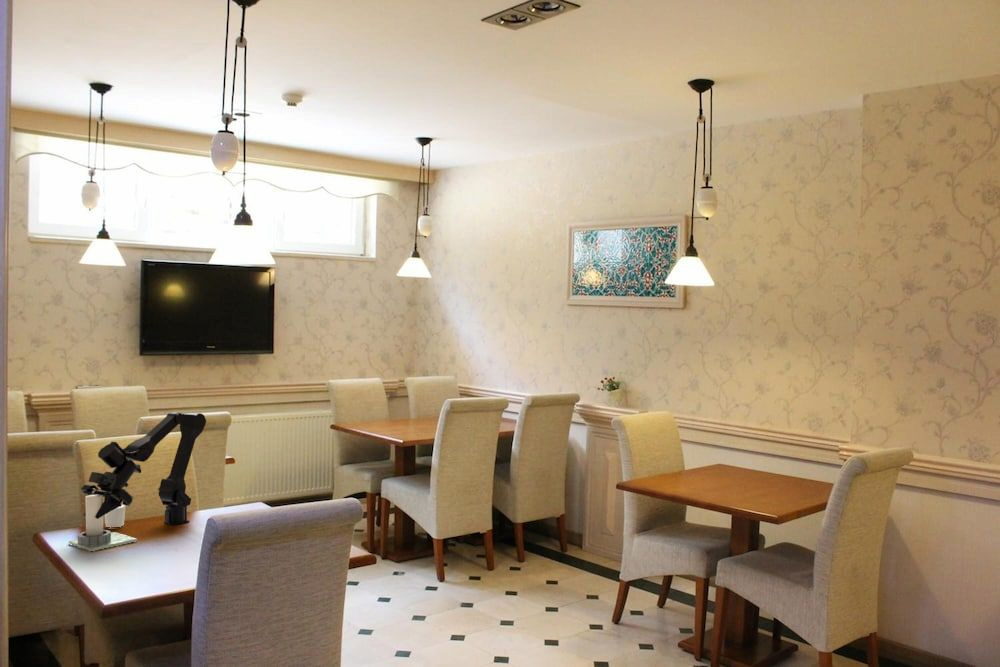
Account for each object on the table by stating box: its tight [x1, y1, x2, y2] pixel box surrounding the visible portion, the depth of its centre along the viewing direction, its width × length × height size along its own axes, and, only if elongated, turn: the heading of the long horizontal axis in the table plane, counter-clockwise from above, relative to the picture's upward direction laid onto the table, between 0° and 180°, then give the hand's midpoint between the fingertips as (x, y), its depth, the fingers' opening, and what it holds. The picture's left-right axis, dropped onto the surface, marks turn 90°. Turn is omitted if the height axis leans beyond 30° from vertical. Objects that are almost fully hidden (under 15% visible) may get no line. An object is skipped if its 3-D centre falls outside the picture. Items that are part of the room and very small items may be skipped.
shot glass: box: [104, 504, 126, 529], centre depth 294 cm, size 7×7×7 cm
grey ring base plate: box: [68, 529, 138, 552], centre depth 272 cm, size 15×14×4 cm
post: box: [85, 494, 104, 537], centre depth 270 cm, size 5×5×13 cm
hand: (90, 517), depth 269 cm, fingers closed on post, 5 cm apart
